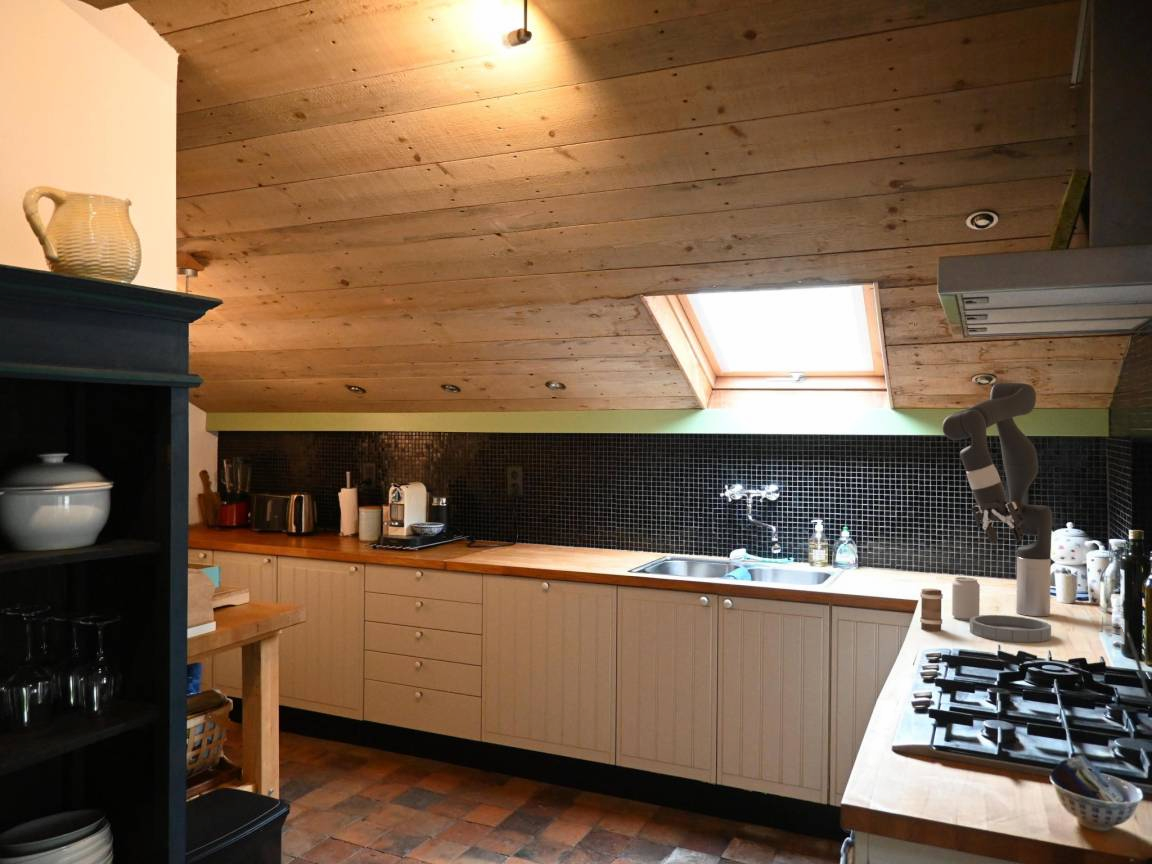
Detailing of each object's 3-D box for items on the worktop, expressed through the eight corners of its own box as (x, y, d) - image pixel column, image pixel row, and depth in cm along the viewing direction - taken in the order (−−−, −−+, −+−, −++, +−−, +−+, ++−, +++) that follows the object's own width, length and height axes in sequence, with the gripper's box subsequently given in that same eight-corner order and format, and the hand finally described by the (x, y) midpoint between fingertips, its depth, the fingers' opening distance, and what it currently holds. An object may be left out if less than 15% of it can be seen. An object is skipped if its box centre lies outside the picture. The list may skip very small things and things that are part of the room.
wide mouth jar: (946, 617, 271) (946, 577, 271) (965, 615, 274) (965, 575, 274) (966, 621, 264) (966, 580, 264) (985, 620, 267) (985, 579, 267)
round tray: (962, 624, 259) (962, 613, 259) (1037, 628, 256) (1037, 616, 256) (979, 640, 240) (979, 628, 240) (1061, 644, 236) (1061, 632, 236)
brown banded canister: (918, 626, 257) (918, 587, 257) (940, 627, 256) (940, 588, 256) (922, 631, 251) (922, 591, 251) (944, 632, 250) (944, 592, 250)
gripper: (1016, 476, 235) (1038, 535, 234) (975, 481, 248) (996, 537, 247) (996, 485, 232) (1018, 545, 231) (955, 490, 245) (976, 546, 245)
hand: (1007, 541), depth 239 cm, fingers open, 8 cm apart
